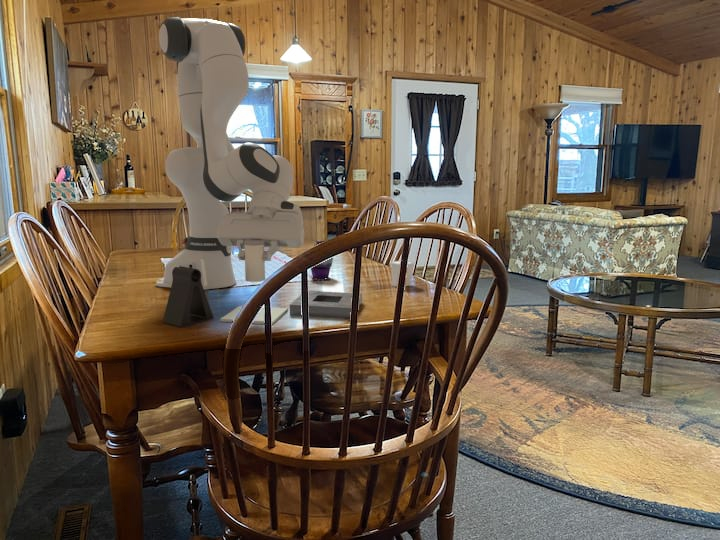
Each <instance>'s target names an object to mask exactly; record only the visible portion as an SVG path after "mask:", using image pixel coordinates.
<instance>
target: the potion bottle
mask: <svg viewBox="0 0 720 540" xmlns="http://www.w3.org/2000/svg"><path fill="white" fill-rule="evenodd" d="M324 241H326V240H324V239H316V241H315V242H316V243H314V245H313V247H314V246H315V245H317V244H319V243H322V242H324ZM333 260H334V257H333V258H331V259H329V260H327V261H325V262H323V263H321V264H319V265H317V266H315V267H313V268H311V267H310V271H311V275H312V276H311V277H312V279H313V278H317V279H316V280H329V279H330V277H329V275H330V271H331V267H332V265H333ZM325 278H327V279H325Z"/></svg>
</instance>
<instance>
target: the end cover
mask: <svg viewBox="0 0 720 540" xmlns="http://www.w3.org/2000/svg"><path fill="white" fill-rule="evenodd" d="M243 250H245V260H244V273H245V274H244V277H245V282H248V283H249V282H252V283H256V282H263V281H266V266H265V265H266V264H265V262H266V261H264V259H263V257H262V256H263V252H264V251H265V247H264V240H245V241H244V249H243Z"/></svg>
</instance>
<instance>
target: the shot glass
mask: <svg viewBox="0 0 720 540" xmlns="http://www.w3.org/2000/svg"><path fill="white" fill-rule="evenodd" d="M401 261H402V260H393V261H391V262H390V268H391V284H392V286H393V287H395V288H396V287H397V284H398V278H399V273H400V262H401ZM407 261H408V260H407ZM414 263H415V262H413V261H408V267H407V277H406V286H408V285H412V278H413V273H414V272H413V271H414V265H415V264H414ZM406 286H405V287H404V288H407V287H406ZM397 288H398V287H397Z"/></svg>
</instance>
